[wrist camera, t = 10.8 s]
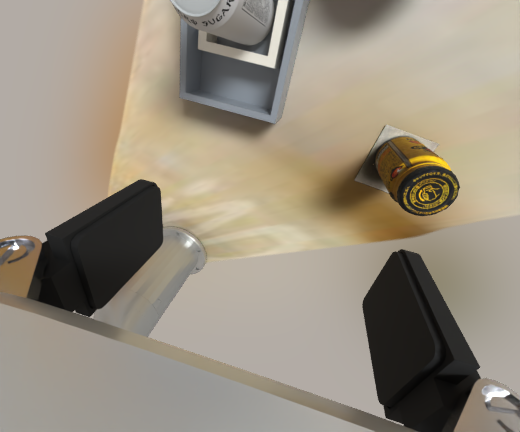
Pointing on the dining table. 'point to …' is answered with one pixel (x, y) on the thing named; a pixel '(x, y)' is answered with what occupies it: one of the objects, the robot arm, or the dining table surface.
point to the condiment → (410, 172)
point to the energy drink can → (229, 18)
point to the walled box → (243, 66)
